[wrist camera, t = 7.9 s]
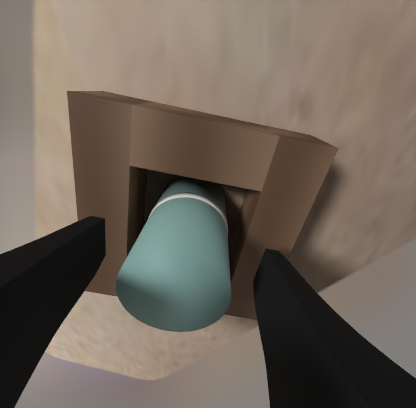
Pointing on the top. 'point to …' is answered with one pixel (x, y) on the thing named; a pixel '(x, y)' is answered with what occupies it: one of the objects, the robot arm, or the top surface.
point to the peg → (180, 260)
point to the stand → (194, 168)
